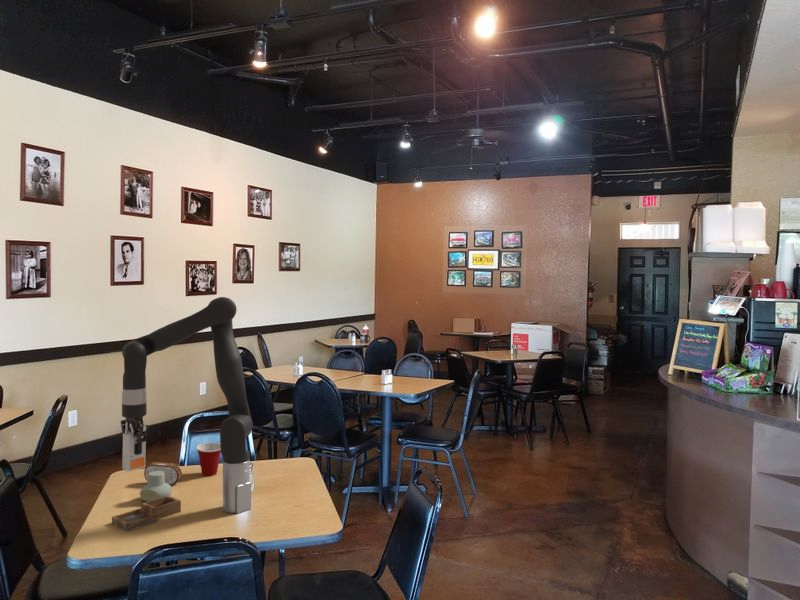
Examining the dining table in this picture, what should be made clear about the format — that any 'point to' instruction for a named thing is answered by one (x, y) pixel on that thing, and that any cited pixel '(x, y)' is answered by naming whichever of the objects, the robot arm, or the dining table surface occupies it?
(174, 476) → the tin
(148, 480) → the air freshener
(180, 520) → the dining table surface
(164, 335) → the robot arm
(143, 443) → the skincare box
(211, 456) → the plastic cup
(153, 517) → the caddy
